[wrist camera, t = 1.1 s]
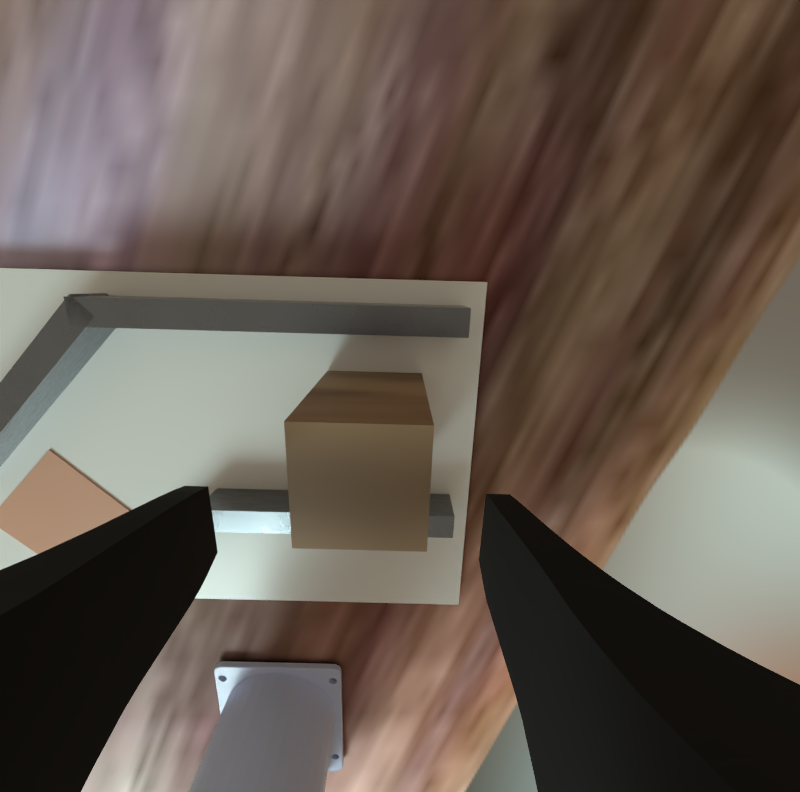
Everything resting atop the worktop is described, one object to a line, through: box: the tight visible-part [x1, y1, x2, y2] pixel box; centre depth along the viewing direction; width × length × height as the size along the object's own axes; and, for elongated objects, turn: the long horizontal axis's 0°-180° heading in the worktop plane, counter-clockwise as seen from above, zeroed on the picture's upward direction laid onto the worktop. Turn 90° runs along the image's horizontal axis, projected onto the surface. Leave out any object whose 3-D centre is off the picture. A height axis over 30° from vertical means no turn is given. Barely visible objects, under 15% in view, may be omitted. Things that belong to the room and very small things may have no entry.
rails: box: [0, 293, 471, 538], centre depth 18 cm, size 16×25×2 cm, turn 88°
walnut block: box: [284, 371, 434, 552], centre depth 15 cm, size 4×4×7 cm
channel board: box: [0, 268, 487, 605], centre depth 20 cm, size 18×27×1 cm, turn 88°
